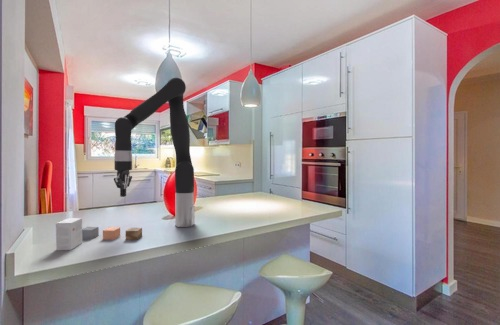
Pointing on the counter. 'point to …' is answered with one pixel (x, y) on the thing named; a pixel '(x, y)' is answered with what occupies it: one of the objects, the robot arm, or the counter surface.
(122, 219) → the counter surface
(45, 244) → the counter surface
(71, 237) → the small box
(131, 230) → the walnut block
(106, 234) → the terracotta block
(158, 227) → the counter surface
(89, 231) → the grey block
